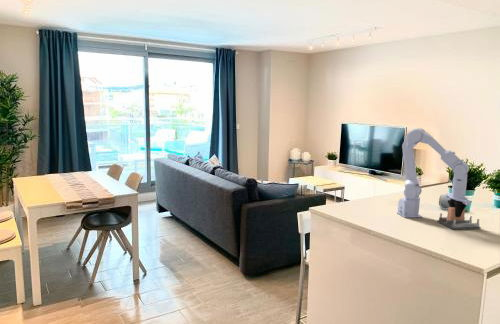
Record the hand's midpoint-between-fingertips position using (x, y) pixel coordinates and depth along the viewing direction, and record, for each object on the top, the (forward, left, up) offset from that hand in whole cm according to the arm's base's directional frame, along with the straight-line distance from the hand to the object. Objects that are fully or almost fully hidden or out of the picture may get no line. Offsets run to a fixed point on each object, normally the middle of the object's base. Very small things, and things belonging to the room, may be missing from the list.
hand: (455, 216), depth 180 cm
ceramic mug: (+15, +26, -4) cm, 30 cm away
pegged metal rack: (0, -2, -4) cm, 5 cm away
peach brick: (0, 0, -3) cm, 3 cm away
